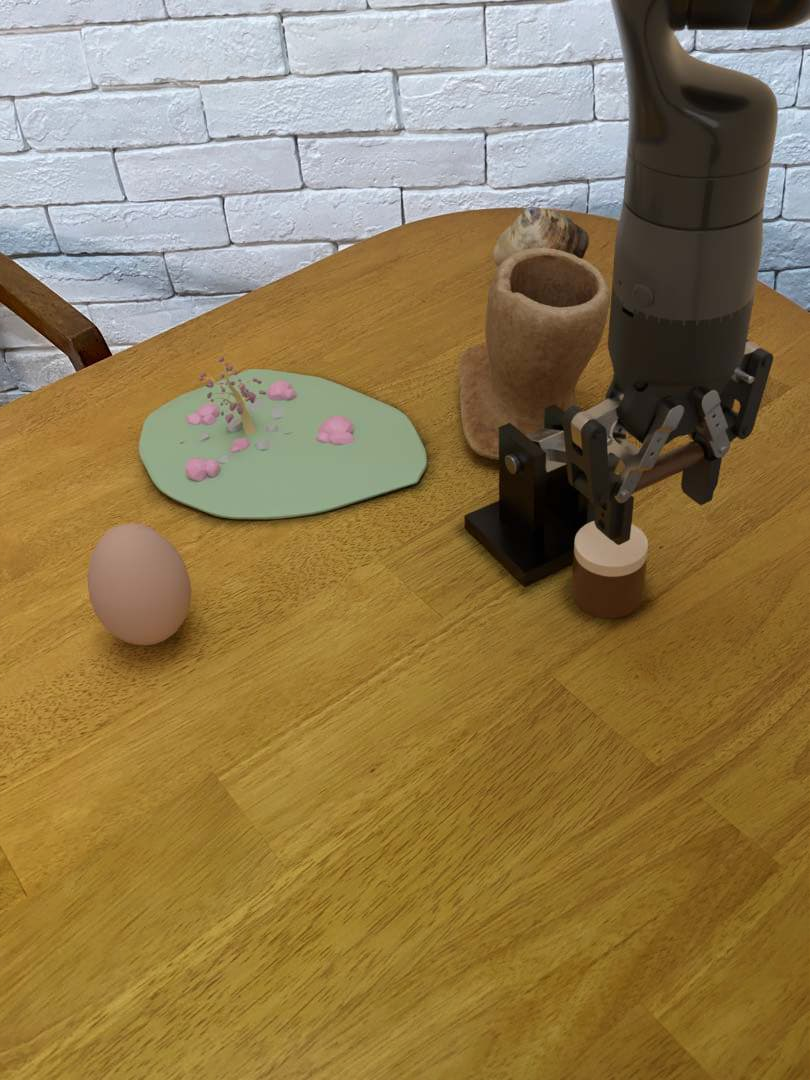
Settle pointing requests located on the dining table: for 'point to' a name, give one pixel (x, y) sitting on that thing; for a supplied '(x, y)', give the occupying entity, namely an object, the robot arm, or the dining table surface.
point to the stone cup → (531, 344)
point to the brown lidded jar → (608, 572)
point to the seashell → (541, 234)
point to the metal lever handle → (661, 470)
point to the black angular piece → (531, 508)
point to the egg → (138, 584)
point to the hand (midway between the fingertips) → (655, 515)
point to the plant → (278, 446)
